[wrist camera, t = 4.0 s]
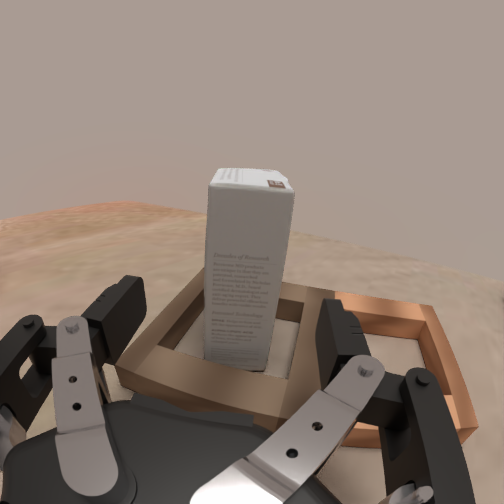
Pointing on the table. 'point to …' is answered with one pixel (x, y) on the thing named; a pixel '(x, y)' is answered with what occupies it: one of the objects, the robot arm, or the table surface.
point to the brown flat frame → (303, 364)
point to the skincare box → (244, 264)
